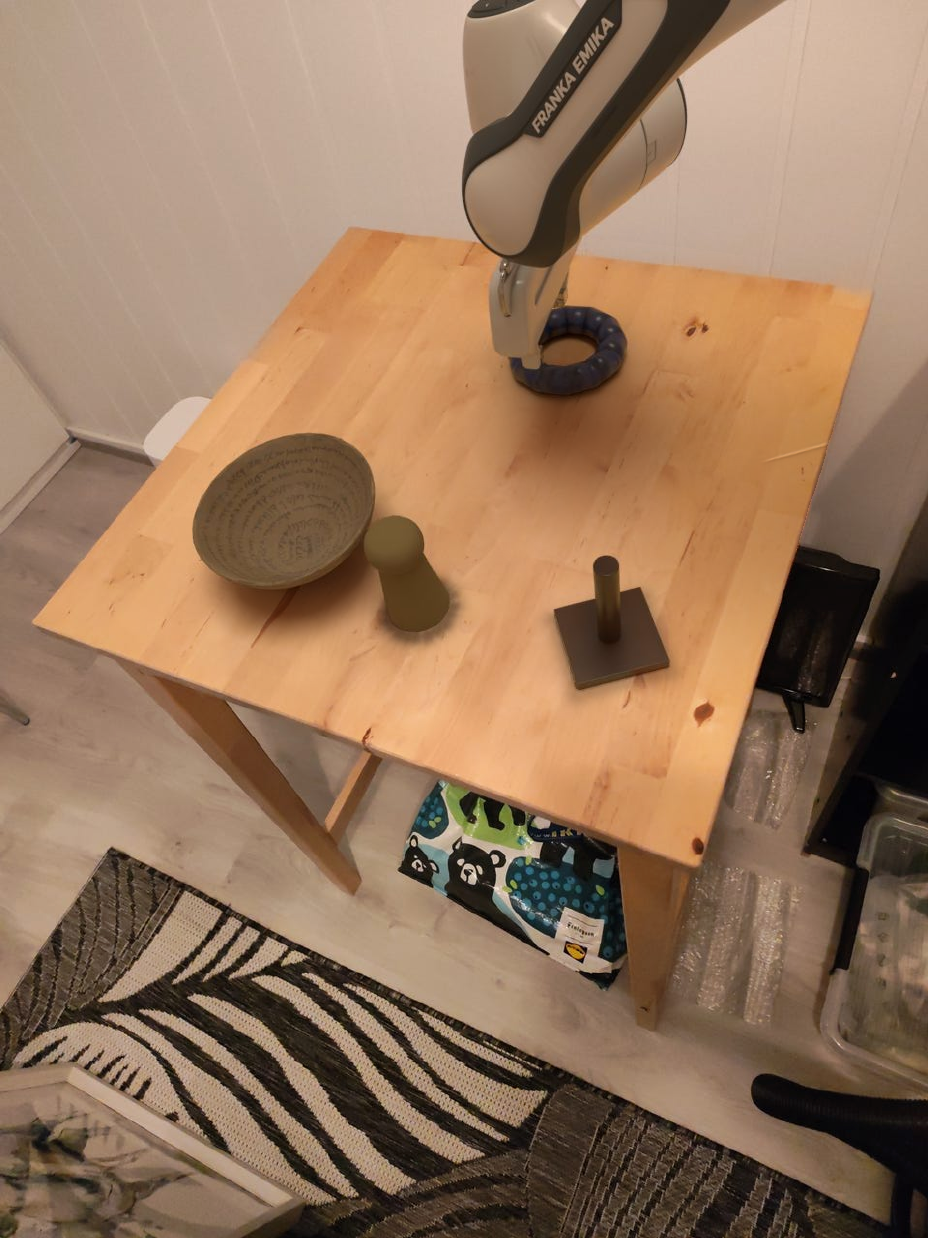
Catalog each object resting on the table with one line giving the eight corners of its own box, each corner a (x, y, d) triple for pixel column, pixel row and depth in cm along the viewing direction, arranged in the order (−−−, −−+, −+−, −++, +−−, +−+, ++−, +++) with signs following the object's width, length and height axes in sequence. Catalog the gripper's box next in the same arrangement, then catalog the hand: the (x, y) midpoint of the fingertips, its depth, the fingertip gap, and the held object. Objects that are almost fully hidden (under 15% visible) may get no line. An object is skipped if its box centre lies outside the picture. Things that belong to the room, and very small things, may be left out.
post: (640, 592, 73) (640, 513, 64) (669, 666, 68) (674, 593, 59) (554, 615, 73) (542, 539, 64) (577, 690, 69) (568, 620, 59)
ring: (606, 310, 95) (606, 288, 92) (641, 380, 87) (641, 358, 85) (499, 340, 95) (496, 318, 93) (524, 412, 88) (521, 391, 85)
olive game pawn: (458, 584, 77) (434, 509, 68) (436, 637, 74) (408, 566, 65) (400, 574, 79) (370, 499, 70) (377, 625, 76) (342, 554, 67)
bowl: (191, 607, 81) (152, 560, 75) (273, 473, 90) (244, 420, 83) (352, 645, 75) (325, 597, 69) (423, 498, 84) (405, 443, 77)
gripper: (534, 277, 65) (548, 406, 77) (595, 140, 75) (600, 273, 86) (462, 273, 67) (486, 400, 79) (530, 140, 77) (543, 270, 88)
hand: (546, 333), depth 82 cm, fingers open, 8 cm apart
